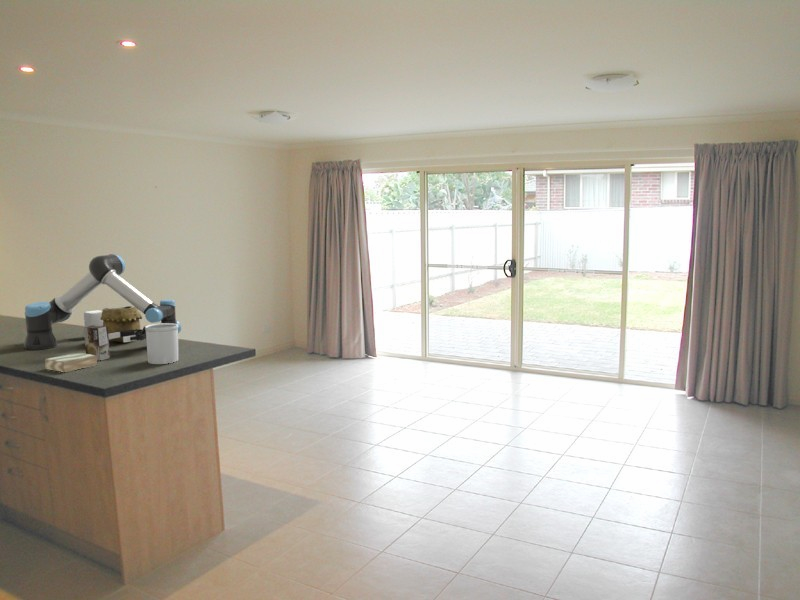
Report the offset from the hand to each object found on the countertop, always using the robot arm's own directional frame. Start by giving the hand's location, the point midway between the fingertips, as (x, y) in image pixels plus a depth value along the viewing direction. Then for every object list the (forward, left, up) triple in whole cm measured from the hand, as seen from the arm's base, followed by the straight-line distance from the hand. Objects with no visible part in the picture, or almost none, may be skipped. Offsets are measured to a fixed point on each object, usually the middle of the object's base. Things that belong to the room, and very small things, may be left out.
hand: (115, 338), depth 305 cm
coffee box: (-1, -10, -9) cm, 13 cm away
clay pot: (-25, +23, -9) cm, 35 cm away
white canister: (-49, +23, -9) cm, 55 cm away
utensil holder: (+31, +2, -9) cm, 32 cm away
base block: (+4, -27, -8) cm, 28 cm away
